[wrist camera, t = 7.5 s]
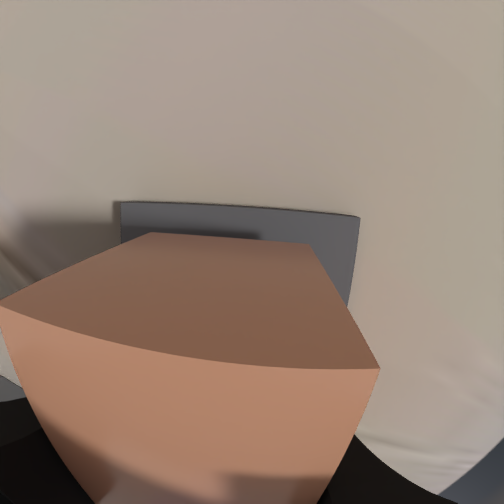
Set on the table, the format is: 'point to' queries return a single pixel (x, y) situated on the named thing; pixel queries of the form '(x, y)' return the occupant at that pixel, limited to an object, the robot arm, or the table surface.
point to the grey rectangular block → (10, 390)
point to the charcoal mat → (254, 230)
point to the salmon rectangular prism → (193, 370)
